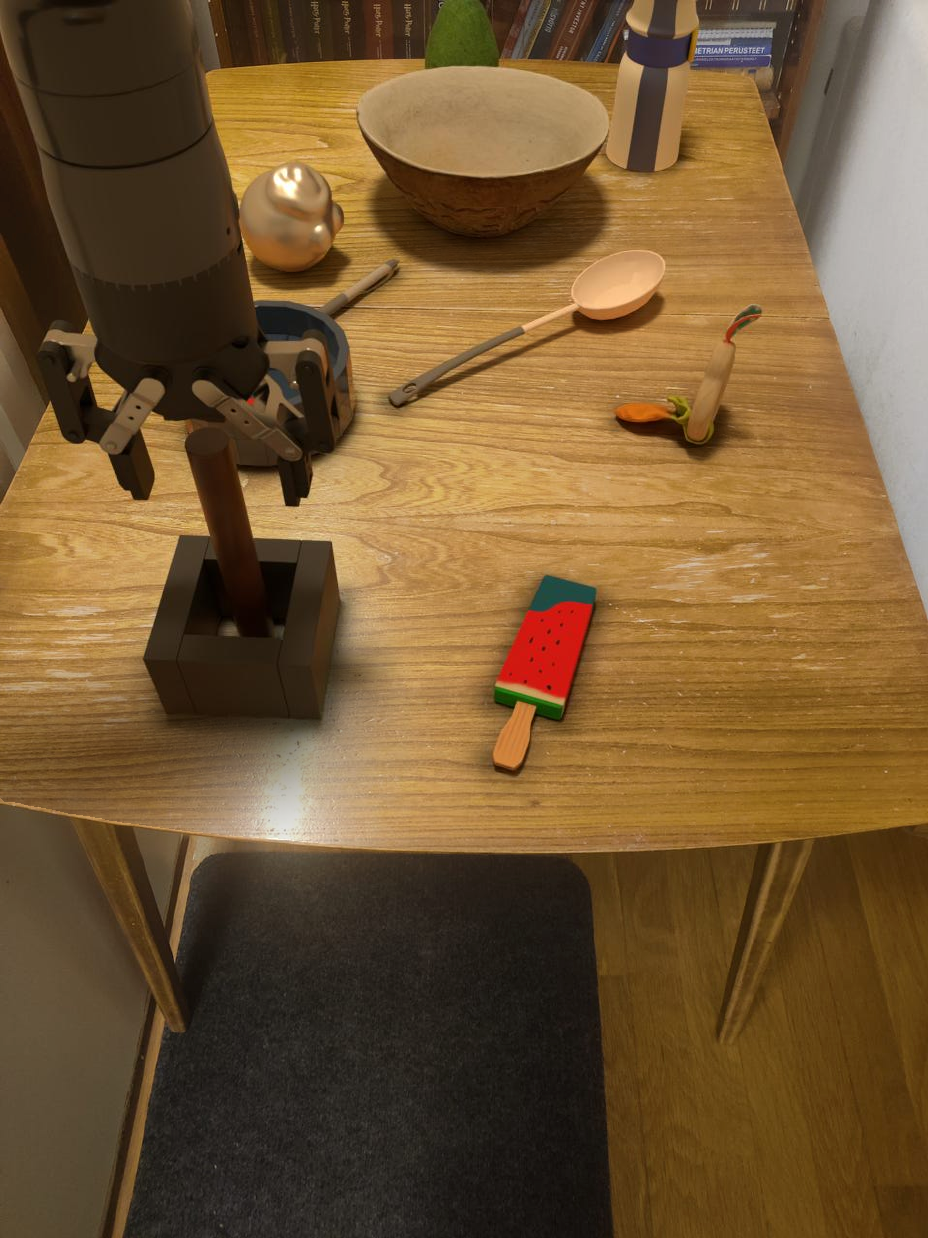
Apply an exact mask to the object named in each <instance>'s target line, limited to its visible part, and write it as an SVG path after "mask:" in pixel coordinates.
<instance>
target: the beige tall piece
mask: <svg viewBox="0 0 928 1238" xmlns="http://www.w3.org/2000/svg"><path fill="white" fill-rule="evenodd" d="M762 313H763V308H762V304H758V303H750V304H749V305H747V306H746V307H745V308H743V309H741V310H740V311H739V312H737V314H736V315H735V316H734V317H733V318H732V320H731V321H730V323H729V325H728V327H727V328H726V329H725V334H724V339H719V340H718V341H717V342H716V343H715V345H714V346H713V348H712V351H711V353H710V356H709V359H708V362H707V365H706V368H705V371H704V373H703V377H702V380H701V382H700V385H699V387H698V390H697V393H696V396H695V399H694V402H693V404H692V408H691V407H690V406H689V404H688V401H687V399H686V397H685V396H681V397H679V396H677V395H675V394H672V395H670V396H668V397H667V398H666V402H668V403H672V404H673V405H674V408H675V409H671V408H669V407H666V406H664V405H659V404H655V403H648V402H628V403H625V404H622V405H620V406H618V407H617V408H616V409H615V410H614V414H615V415H616V417H618V418H620V419H621V420H624V421H627V422H632V423H647V422H654V421H660V420H663V419H671V420H674V421H675V422H677V424H679V425H682V430H683V433H684V438H685V440H686V441H687V442H689V443H692V444H695V445H703V444H705V443H707V442H708V441H709V439H711V438H712V435H713V433H714V431H715V425H714V421H715V419H716V417H717V414H718V411H719V408H720V406H721V403H722V400H723V398H724V396H725V395H724V394H725V391H726V389H727V386H728V382H729V380H730V377H731V374H732V370H733V367H734V364H735V359H736V351H737V346H736V344H735V342H734V341H731V339H732V338H733V337H734V336H735V335H736V334H737V333H738V332H739V331H740V330H742V329H744V328H745V327H746V326H748V325H750V324H751V323H754V322H756V321H758V320H759V318H760V317H762V315H763V314H762Z"/></svg>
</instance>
